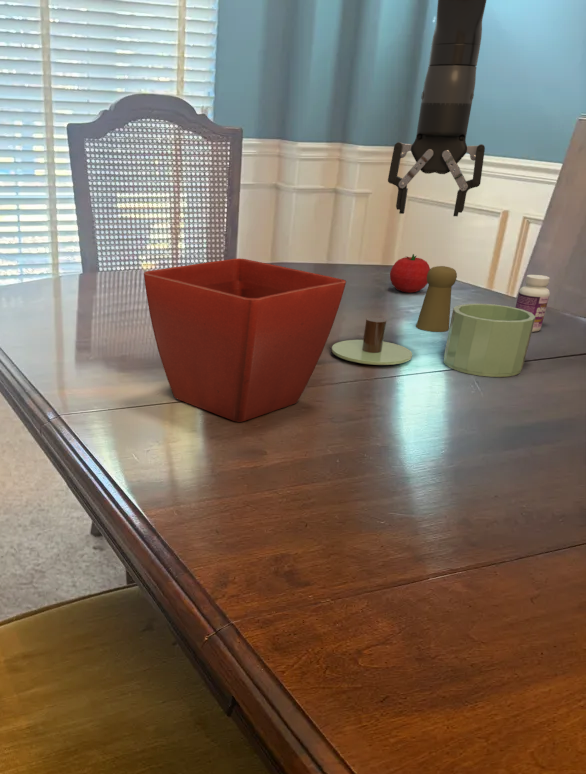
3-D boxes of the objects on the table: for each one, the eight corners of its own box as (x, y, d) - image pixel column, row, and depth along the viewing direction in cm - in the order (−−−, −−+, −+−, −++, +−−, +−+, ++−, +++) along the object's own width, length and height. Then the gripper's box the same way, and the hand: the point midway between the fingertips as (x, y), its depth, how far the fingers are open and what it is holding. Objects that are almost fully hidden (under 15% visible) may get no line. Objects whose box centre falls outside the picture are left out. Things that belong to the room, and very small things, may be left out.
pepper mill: (453, 332, 143) (465, 270, 137) (420, 331, 143) (431, 269, 137) (443, 324, 148) (454, 264, 142) (412, 323, 148) (422, 263, 142)
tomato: (384, 286, 177) (389, 250, 173) (422, 288, 177) (428, 251, 173) (391, 295, 170) (397, 257, 166) (431, 296, 169) (438, 258, 166)
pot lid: (367, 342, 135) (372, 306, 132) (427, 360, 126) (434, 323, 123) (314, 353, 128) (319, 316, 125) (374, 373, 119) (380, 334, 116)
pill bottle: (537, 334, 143) (551, 280, 138) (507, 329, 145) (520, 276, 141) (542, 328, 147) (556, 276, 142) (513, 324, 149) (526, 272, 145)
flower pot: (334, 404, 107) (350, 278, 98) (242, 438, 95) (252, 298, 87) (232, 371, 118) (239, 256, 110) (139, 398, 107) (139, 272, 98)
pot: (472, 351, 132) (483, 300, 128) (536, 369, 124) (550, 315, 119) (428, 361, 126) (438, 309, 121) (492, 381, 117) (505, 325, 113)
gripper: (495, 101, 119) (473, 214, 127) (401, 100, 123) (386, 209, 131) (496, 101, 113) (473, 219, 121) (397, 99, 117) (381, 214, 125)
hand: (428, 214), depth 126 cm, fingers open, 8 cm apart
